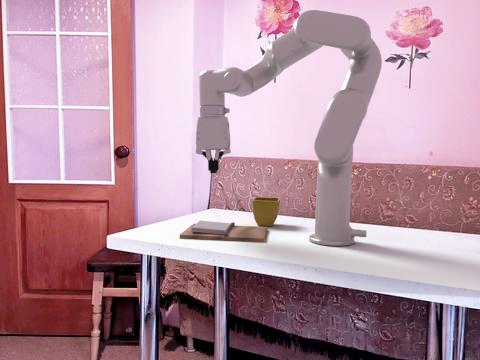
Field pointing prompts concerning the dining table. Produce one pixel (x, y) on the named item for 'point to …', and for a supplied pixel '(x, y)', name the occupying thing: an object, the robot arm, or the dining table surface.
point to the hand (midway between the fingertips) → (213, 173)
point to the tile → (211, 227)
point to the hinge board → (230, 234)
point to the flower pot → (265, 210)
